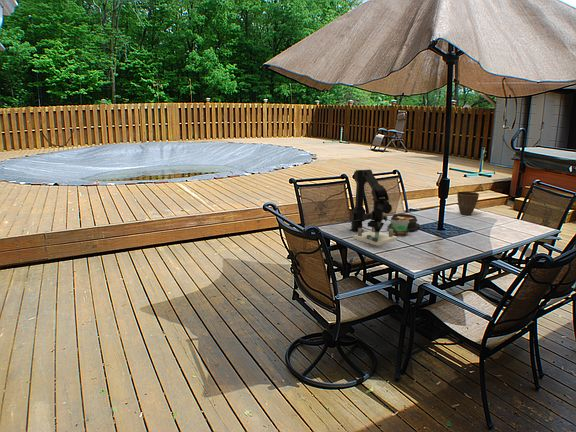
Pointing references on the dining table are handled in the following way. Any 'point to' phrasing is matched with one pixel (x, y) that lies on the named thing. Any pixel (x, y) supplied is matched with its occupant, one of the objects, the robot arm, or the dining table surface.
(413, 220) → the casserole
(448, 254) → the dining table surface
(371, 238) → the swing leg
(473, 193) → the plant pot
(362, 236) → the cream square peg board
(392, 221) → the food container
